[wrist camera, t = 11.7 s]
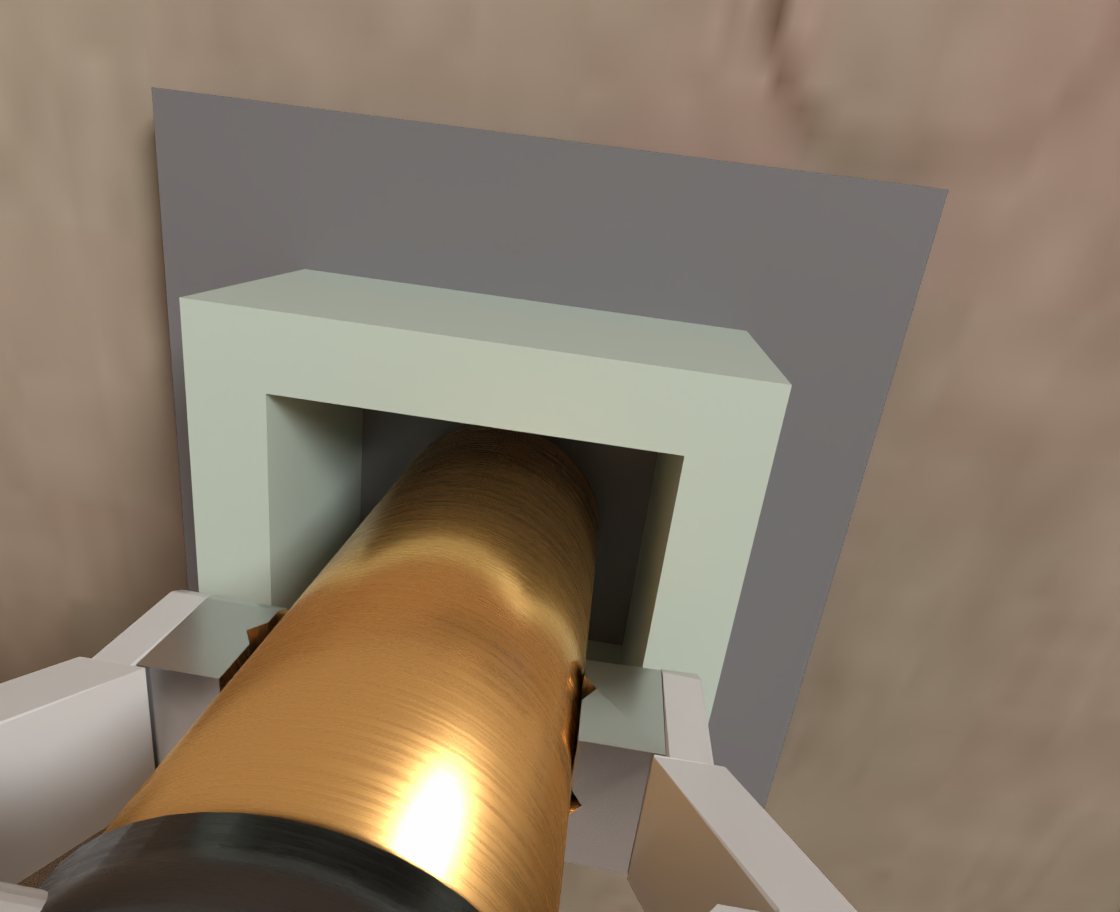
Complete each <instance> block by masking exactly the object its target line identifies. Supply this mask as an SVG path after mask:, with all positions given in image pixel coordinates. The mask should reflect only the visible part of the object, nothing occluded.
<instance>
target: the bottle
mask: <svg viewBox="0 0 1120 912" xmlns="http://www.w3.org/2000/svg"><path fill="white" fill-rule="evenodd" d="M599 526H600V525H599V512H598V507H597V502H596V499H595V496H594V493H593V490H592V488H591V486H590V484H589V482H588V480H587V478H586V477H585V475H584V474H583V472H582V471H581V469H580V468H579V467H578V465H577V464H576V463H575V462H574V461H573V460H572V459H571V458H570V457H569V456H568V455H567V454H566V453H565V452H564V451H562V450H561V449H560V448H559V447H558V446H556V445H555V444H553V443H551V442H550V441H548V440H547V439H545V438H543V437H541V436H539V435H537V434H534V433H527V432H520V431H513V430H507V429H500V428H493V427H487V426H480V425H476V426H470V427H465V428H462V429H459V430H456V431H453V432H450V433H448V434H446V435H444V436H442V437H440V438H439V439H437V440H436V441H434V442H433V443H431V444H430V445H429V446H427V447H426V448H425V449H424V450H423V451H422V452H421V453H420V454H419V455H418V456H417V458H416V459H415V460H414V461H413V462H412V463H411V465H410V466H409V467H408V468H407V469H406V471H405V472H404V473H403V474H402V475H401V477H400V478H399V479H398V480H397V481H396V483H395V484H394V485H393V486H392V487H391V489H390V490H389V491H388V492H387V493H386V495H385V496H384V497H383V498H382V499H381V501H380V502H379V503H378V504H377V505H376V506H375V508H374V509H373V510H372V511H371V512H370V514H369V515H368V516H367V517H366V518H365V520H364V521H363V522H362V523H361V524H360V526H359V527H358V528H357V529H356V530H355V532H354V533H353V534H352V535H351V536H350V538H349V539H348V540H347V541H346V542H345V544H344V545H343V546H342V547H341V548H340V550H339V551H338V552H337V553H336V554H335V556H334V557H333V558H332V559H331V560H330V561H329V563H328V564H327V565H326V566H325V567H324V569H323V570H322V571H321V572H320V573H319V575H318V576H317V577H316V578H315V579H314V581H313V582H312V583H311V584H310V585H309V587H308V588H307V589H306V590H305V591H304V593H303V594H302V595H301V596H300V597H299V599H298V600H297V601H296V602H295V603H294V605H293V606H292V607H291V608H290V609H289V611H288V612H287V613H286V614H285V615H284V617H283V618H282V619H281V620H280V621H279V622H278V624H277V625H276V626H275V627H274V628H273V630H272V631H271V632H270V633H269V634H268V636H267V637H266V638H265V639H264V640H263V642H262V643H261V644H260V645H259V646H258V648H257V649H256V650H255V651H254V652H253V654H252V655H251V656H250V657H249V658H248V660H247V661H246V662H245V663H244V664H243V666H242V667H241V668H240V669H239V670H238V672H237V673H236V674H235V675H234V676H233V678H232V679H231V680H230V681H229V682H228V683H227V685H226V686H225V687H224V688H223V689H222V691H221V692H220V693H219V694H218V695H217V697H216V698H215V699H214V700H213V701H212V703H211V704H210V705H209V706H208V707H207V709H206V710H205V711H204V712H203V713H202V715H201V716H200V717H199V718H198V719H197V721H196V722H195V723H194V724H193V725H192V727H191V728H190V729H189V730H188V731H187V733H186V734H185V735H184V736H183V737H182V738H181V740H180V741H179V742H178V743H177V744H176V746H175V747H174V748H173V749H172V750H171V752H170V753H169V754H168V755H167V756H166V758H165V759H164V760H163V761H162V762H161V764H160V765H159V766H158V767H157V768H156V770H155V771H154V772H153V773H152V774H151V776H150V777H149V778H148V779H147V780H146V782H145V783H144V784H143V785H142V786H141V788H140V789H139V790H138V791H137V792H136V794H135V795H134V796H133V797H132V798H131V799H130V801H129V802H128V803H127V804H126V805H125V807H124V808H123V809H122V810H121V811H120V813H119V814H118V815H117V816H116V817H115V819H114V820H113V821H112V822H111V823H110V825H109V826H108V827H107V828H106V829H105V831H104V832H103V833H102V834H101V835H100V836H98V837H96V838H95V839H93V840H91V841H89V842H87V843H85V844H84V845H82V846H80V847H79V848H78V849H76V850H75V851H74V852H73V853H71V854H70V855H69V856H68V857H66V858H65V859H64V860H63V861H61V862H60V863H59V864H58V865H57V866H56V868H55V869H54V870H53V871H52V872H51V873H50V875H49V876H48V877H47V878H46V879H45V880H44V881H43V883H42V884H41V885H40V886H39V887H38V888H39V889H44V890H46V891H47V892H48V897H47V901H46V902H45V904H44V906H43V908H42V910H41V911H40V912H559V902H560V893H561V884H562V874H563V865H564V856H565V846H566V837H567V828H568V818H569V809H570V800H571V790H572V789H571V787H572V769H573V760H574V750H575V740H576V731H577V726H578V720H579V703H580V695H581V686H582V678H583V671H584V666H585V659H586V650H587V641H588V631H589V622H590V613H591V603H592V594H593V585H594V575H595V566H596V556H597V547H598V538H599Z"/></svg>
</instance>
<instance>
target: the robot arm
mask: <svg viewBox="0 0 1120 912" xmlns="http://www.w3.org/2000/svg"><path fill="white" fill-rule="evenodd" d="M287 612H288V610H287V609H286V608H281V607H276V606H271V605H265V604H260V603H255V602H249V601H244V600H239V599H233V598H228V597H223V596H214V595H211V594H206V593H200V592H194V591H188V590H176V591H171V592H170V593H169V594H167V595H166V596H165V597H164V598H163V599H161V600H160V601H159V602H158V603H157V604H156V605H154V606H153V607H152V608H151V609H150V610H148V611H147V612H146V613H145V614H144V615H142V616H141V617H140V618H139V619H138V620H137V621H135V622H134V623H133V624H132V625H131V626H129V627H128V628H127V629H126V630H125V631H123V632H122V633H121V634H120V635H119V636H118V637H116V638H115V639H114V640H113V641H112V642H110V643H109V644H108V645H107V646H106V647H105V648H103V649H102V650H101V651H100V652H99V653H97V654H96V655H95V656H94V657H93V658H86V657H77V658H74V659H71V660H68V661H65V662H62V663H59V664H56V665H53V666H50V667H47V668H44V669H41V670H39V671H36V672H33V673H30V674H27V675H24V676H21V677H18V678H15V679H12V680H9V681H6V682H3V683H0V912H40V911H41V910H42V908H43V906H44V904H45V902H46V901H47V897H48V892H47V891H46V890H44V889H39V888H33V887H28V886H23V885H17V884H18V883H19V882H21V881H22V880H24V879H25V878H27V877H29V876H30V875H32V874H33V873H35V872H36V871H38V870H40V869H41V868H43V867H44V866H46V865H47V864H49V863H51V862H52V861H54V860H55V859H57V858H58V857H60V856H62V855H63V854H65V853H66V852H68V851H70V850H71V849H73V848H74V847H76V846H77V845H79V844H81V843H82V842H84V841H85V840H87V839H88V838H90V837H92V836H93V835H95V834H96V833H98V832H99V831H101V830H103V829H104V828H106V827H107V826H109V825H110V823H111V822H112V821H113V820H114V819H115V817H116V816H117V815H118V814H119V813H120V811H121V810H122V809H123V808H124V807H125V805H126V804H127V803H128V802H129V801H130V799H131V798H132V797H133V796H134V795H135V794H136V792H137V791H138V790H139V789H140V788H141V786H142V785H143V784H144V783H145V782H146V780H147V779H148V778H149V777H150V776H151V774H152V773H153V772H154V771H155V770H156V768H157V767H158V766H159V765H160V764H161V762H162V761H163V760H164V759H165V758H166V756H167V755H168V754H169V753H170V752H171V750H172V749H173V748H174V747H175V746H176V744H177V743H178V742H179V741H180V740H181V738H182V737H183V736H184V735H185V734H186V733H187V731H188V730H189V729H190V728H191V727H192V725H193V724H194V723H195V722H196V721H197V719H198V718H199V717H200V716H201V715H202V713H203V712H204V711H205V710H206V709H207V707H208V706H209V705H210V704H211V703H212V701H213V700H214V699H215V698H216V697H217V695H218V694H219V693H220V692H221V691H222V689H223V688H224V687H225V686H226V685H227V683H228V682H229V681H230V680H231V679H232V678H233V676H234V675H235V674H236V673H237V672H238V670H239V669H240V668H241V667H242V666H243V664H244V663H245V662H246V661H247V660H248V658H249V657H250V656H251V655H252V654H253V652H254V651H255V650H256V649H257V648H258V646H259V645H260V644H261V643H262V642H263V640H264V639H265V638H266V637H267V636H268V634H269V633H270V632H271V631H272V630H273V628H274V627H275V626H276V625H277V624H278V622H279V621H280V620H281V619H282V618H283V617H284V615H285V614H286V613H287ZM571 789H572V790H571V800H570V809H569V818H568V828H567V837H566V846H565V856H564V862H568V863H573V864H578V865H582V866H587V867H592V868H597V869H601V870H606V871H611V872H616V873H621V874H625V875H628V877H627V879H628V881H629V883H630V885H631V887H632V889H633V891H634V893H635V895H636V897H637V899H638V901H639V902H640V904H641V906H642V908H643V910H644V912H857V911H856V910H855V909H854V907H853V906H852V905H851V904H850V903H849V902H848V901H847V900H846V899H845V898H844V897H843V895H842V894H841V893H840V892H839V891H838V890H837V889H836V888H835V887H834V886H833V884H832V883H831V882H830V881H829V880H828V879H827V878H826V877H825V876H824V875H823V873H822V872H821V871H820V870H819V869H818V868H817V867H816V866H815V865H814V864H813V862H812V861H811V860H810V859H809V858H808V857H807V856H806V855H805V854H804V853H803V852H802V850H801V849H800V848H799V847H798V846H797V845H796V844H795V843H794V842H793V841H792V839H791V838H790V837H789V836H788V835H787V834H786V833H785V832H784V831H783V830H782V828H781V827H780V826H779V825H778V824H777V823H776V822H775V821H774V820H773V819H772V817H771V816H770V815H769V814H768V813H767V812H766V811H765V810H764V809H763V808H762V807H761V805H760V804H759V803H758V802H757V801H756V800H755V799H754V798H753V797H752V796H751V794H750V793H749V792H748V791H747V790H746V789H745V788H744V787H743V786H742V785H741V783H740V782H739V781H738V780H737V779H736V778H735V777H734V776H733V775H732V774H731V772H730V771H729V770H728V769H727V768H726V767H723V766H717V765H714V763H713V756H712V749H711V742H710V735H709V728H708V721H707V714H706V707H705V700H704V693H703V686H702V679H701V678H700V676H699V675H698V674H694V673H686V672H679V671H671V670H663V669H661V670H656V669H649V668H643V667H636V666H630V665H624V664H617V663H611V662H604V661H598V660H591V659H586V660H585V666H584V671H583V678H582V686H581V695H580V703H579V720H578V726H577V731H576V740H575V750H574V760H573V769H572V787H571Z"/></svg>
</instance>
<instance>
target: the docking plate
mask: <svg viewBox="0 0 1120 912" xmlns="http://www.w3.org/2000/svg"><path fill="white" fill-rule="evenodd" d="M152 101H153V115H154V128H155V142H156V156H157V170H158V183H159V197H160V211H161V225H162V238H163V252H164V266H165V279H166V293H167V307H168V321H169V334H170V348H171V362H172V376H173V389H174V403H175V417H176V430H177V444H178V458H179V472H180V485H181V499H182V513H183V527H184V540H185V554H186V568H187V581H188V591H194V592H200V593H206V594H211V595H214V596H223V597H228V598H233V599H239V600H244V601H249V602H255V603H260V604H265V605H271V606H276V607H281V608H286V609H287V610H288V611H289V609H290V608H291V607H292V606H293V605H294V603H295V602H296V601H297V600H298V599H299V597H300V596H301V595H302V594H303V593H304V591H305V590H306V589H307V588H308V587H309V585H310V584H311V583H312V582H313V581H314V579H315V578H316V577H317V576H318V575H319V573H320V572H321V571H322V570H323V569H324V567H325V566H326V565H327V564H328V563H329V561H330V560H331V559H332V558H333V557H334V556H335V554H336V553H337V552H338V551H339V550H340V548H341V547H342V546H343V545H344V544H345V542H346V541H347V540H348V539H349V538H350V536H351V535H352V534H353V533H354V532H355V530H356V529H357V528H358V527H359V526H360V524H361V523H362V522H363V521H364V520H365V518H366V517H367V516H368V515H369V514H370V512H371V511H372V510H373V509H374V508H375V506H376V505H377V504H378V503H379V502H380V501H381V499H382V498H383V497H384V496H385V495H386V493H387V492H388V491H389V490H390V489H391V487H392V486H393V485H394V484H395V483H396V481H397V480H398V479H399V478H400V477H401V475H402V474H403V473H404V472H405V471H406V469H407V468H408V467H409V466H410V465H411V463H412V462H413V461H414V460H415V459H416V458H417V456H418V455H419V454H420V453H421V452H422V451H423V450H424V449H425V448H426V447H427V446H429V445H430V444H431V443H433V442H434V441H436V440H437V439H439V438H440V437H442V436H444V435H446V434H448V433H450V432H453V431H456V430H459V429H462V428H465V427H470V426H476V425H480V426H487V427H493V428H500V429H507V430H513V431H520V432H527V433H534V434H537V435H539V436H541V437H543V438H545V439H547V440H548V441H550V442H551V443H553V444H555V445H556V446H558V447H559V448H560V449H561V450H562V451H564V452H565V453H566V454H567V455H568V456H569V457H570V458H571V459H572V460H573V461H574V462H575V463H576V464H577V465H578V467H579V468H580V469H581V471H582V472H583V474H584V475H585V477H586V478H587V480H588V482H589V484H590V486H591V488H592V490H593V493H594V496H595V499H596V502H597V507H598V512H599V525H600V526H599V538H598V547H597V556H596V566H595V575H594V585H593V594H592V603H591V613H590V622H589V631H588V641H587V650H586V659H591V660H598V661H604V662H611V663H617V664H624V665H630V666H636V667H643V668H649V669H656V670H661V669H663V670H671V671H679V672H686V673H694V674H698V675H699V676H700V678H701V679H702V686H703V693H704V700H705V707H706V714H707V721H708V728H709V735H710V742H711V749H712V756H713V763H714V765H717V766H723V767H726V768H727V769H728V770H729V771H730V772H731V774H732V775H733V776H734V777H735V778H736V779H737V780H738V781H739V782H740V783H741V785H742V786H743V787H744V788H745V789H746V790H747V791H748V792H749V793H750V794H751V796H752V797H753V798H754V799H755V800H756V801H757V802H758V803H759V804H760V805H761V807H762V808H763V809H764V808H765V805H766V801H767V798H768V795H769V791H770V788H771V785H772V781H773V778H774V774H775V771H776V768H777V764H778V761H779V758H780V754H781V751H782V748H783V744H784V741H785V738H786V734H787V731H788V727H789V724H790V721H791V717H792V714H793V711H794V707H795V704H796V701H797V697H798V694H799V690H800V687H801V684H802V680H803V677H804V674H805V670H806V667H807V664H808V660H809V657H810V654H811V650H812V647H813V643H814V640H815V637H816V633H817V630H818V627H819V623H820V620H821V617H822V613H823V610H824V606H825V603H826V600H827V596H828V593H829V590H830V586H831V583H832V580H833V576H834V573H835V570H836V566H837V563H838V559H839V556H840V553H841V549H842V546H843V543H844V539H845V536H846V533H847V529H848V526H849V522H850V519H851V516H852V512H853V509H854V506H855V502H856V499H857V496H858V492H859V489H860V486H861V482H862V479H863V475H864V472H865V469H866V465H867V462H868V459H869V455H870V452H871V449H872V445H873V442H874V438H875V435H876V432H877V428H878V425H879V422H880V418H881V415H882V412H883V408H884V405H885V402H886V398H887V395H888V391H889V388H890V385H891V381H892V378H893V375H894V371H895V368H896V365H897V361H898V358H899V354H900V351H901V348H902V344H903V341H904V338H905V334H906V331H907V328H908V324H909V321H910V318H911V314H912V311H913V307H914V304H915V301H916V297H917V294H918V291H919V287H920V284H921V281H922V277H923V274H924V270H925V267H926V264H927V260H928V257H929V254H930V250H931V247H932V244H933V240H934V237H935V234H936V230H937V227H938V223H939V220H940V217H941V213H942V210H943V207H944V203H945V200H946V197H947V193H948V190H946V189H938V188H930V187H923V186H915V185H907V184H899V183H891V182H884V181H876V180H868V179H860V178H853V177H845V176H837V175H829V174H822V173H814V172H806V171H798V170H791V169H783V168H775V167H767V166H759V165H752V164H744V163H736V162H728V161H721V160H713V159H705V158H697V157H690V156H682V155H674V154H666V153H658V152H651V151H643V150H635V149H627V148H620V147H612V146H604V145H596V144H589V143H581V142H573V141H565V140H557V139H550V138H542V137H534V136H526V135H519V134H511V133H503V132H495V131H488V130H480V129H472V128H464V127H456V126H449V125H441V124H433V123H425V122H418V121H410V120H402V119H394V118H387V117H379V116H371V115H363V114H356V113H348V112H340V111H332V110H324V109H317V108H309V107H301V106H293V105H286V104H278V103H270V102H262V101H255V100H247V99H239V98H231V97H223V96H216V95H208V94H200V93H192V92H185V91H177V90H169V89H161V88H154V87H152ZM586 659H585V660H586Z"/></svg>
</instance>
